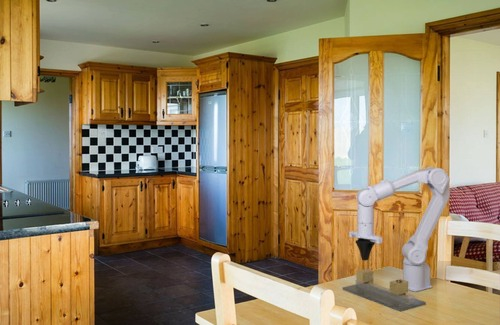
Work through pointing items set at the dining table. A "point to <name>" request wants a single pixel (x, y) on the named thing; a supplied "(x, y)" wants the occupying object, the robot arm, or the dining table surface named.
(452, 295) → the dining table surface
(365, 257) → the robot arm
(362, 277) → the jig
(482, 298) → the dining table surface
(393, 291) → the tan holed block
